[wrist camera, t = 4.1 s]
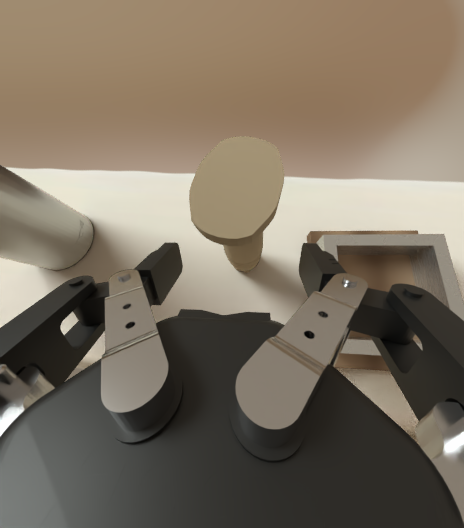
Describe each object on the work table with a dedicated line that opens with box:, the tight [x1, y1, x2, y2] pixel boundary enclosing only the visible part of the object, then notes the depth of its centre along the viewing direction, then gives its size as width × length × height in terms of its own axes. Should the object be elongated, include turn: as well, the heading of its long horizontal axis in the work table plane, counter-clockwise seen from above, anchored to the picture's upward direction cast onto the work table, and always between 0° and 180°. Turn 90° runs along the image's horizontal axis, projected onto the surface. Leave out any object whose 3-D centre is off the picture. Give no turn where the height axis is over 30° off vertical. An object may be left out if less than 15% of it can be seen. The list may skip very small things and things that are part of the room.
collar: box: [316, 234, 464, 355], centre depth 19 cm, size 11×11×3 cm
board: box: [307, 231, 420, 371], centre depth 21 cm, size 12×15×2 cm
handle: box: [189, 136, 284, 273], centre depth 17 cm, size 5×6×15 cm
